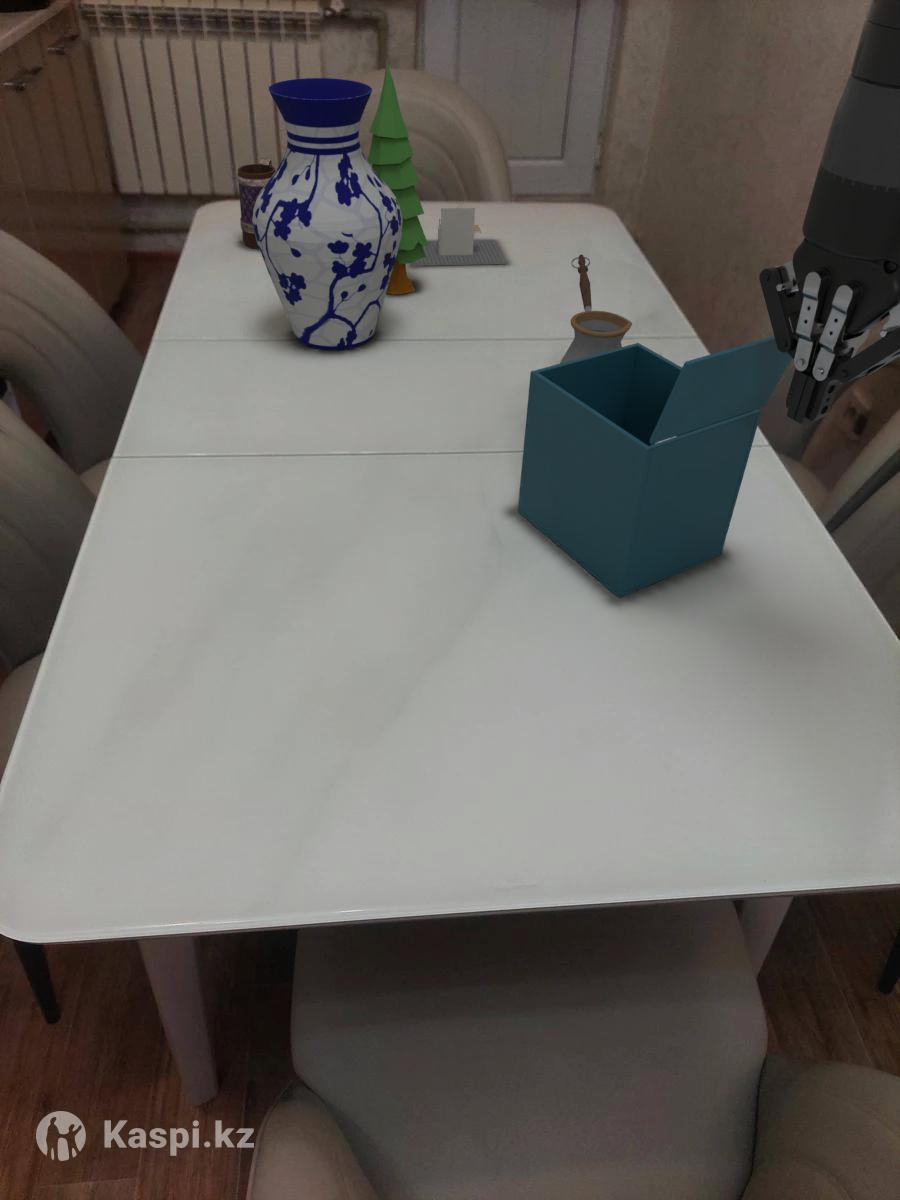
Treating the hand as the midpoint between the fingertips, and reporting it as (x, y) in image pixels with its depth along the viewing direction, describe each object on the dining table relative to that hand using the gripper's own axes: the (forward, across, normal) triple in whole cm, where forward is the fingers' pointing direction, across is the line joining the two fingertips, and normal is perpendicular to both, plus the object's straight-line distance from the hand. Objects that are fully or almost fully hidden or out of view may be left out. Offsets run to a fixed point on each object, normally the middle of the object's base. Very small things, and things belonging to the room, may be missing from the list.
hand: (803, 419), depth 65 cm
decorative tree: (+21, -83, +13) cm, 87 cm away
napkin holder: (+21, -92, +29) cm, 99 cm away
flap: (+1, -8, 0) cm, 8 cm away
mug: (+21, -112, +4) cm, 114 cm away
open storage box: (+21, -16, 0) cm, 26 cm away
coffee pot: (+21, -39, +13) cm, 46 cm away
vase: (+21, -72, -3) cm, 75 cm away
